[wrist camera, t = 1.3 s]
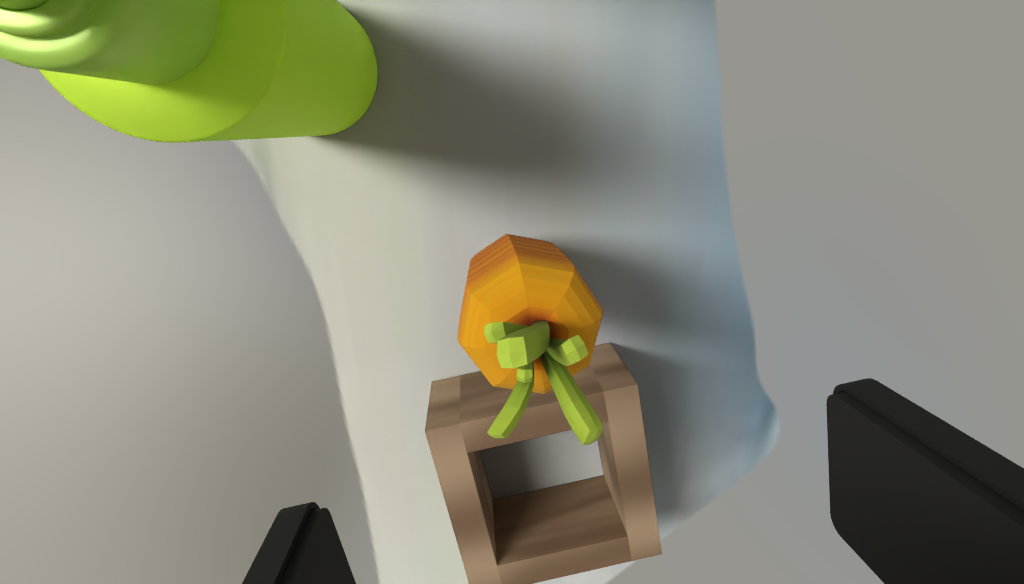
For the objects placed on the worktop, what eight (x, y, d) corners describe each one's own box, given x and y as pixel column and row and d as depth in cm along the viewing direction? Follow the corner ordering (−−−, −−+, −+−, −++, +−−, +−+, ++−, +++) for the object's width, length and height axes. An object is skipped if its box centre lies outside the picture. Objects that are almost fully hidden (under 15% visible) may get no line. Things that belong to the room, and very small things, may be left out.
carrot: (563, 291, 28) (661, 457, 14) (471, 310, 28) (475, 498, 14) (546, 198, 27) (639, 278, 12) (449, 218, 27) (430, 323, 12)
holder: (431, 381, 29) (424, 431, 24) (609, 342, 29) (637, 383, 25) (472, 527, 32) (473, 597, 27) (633, 491, 32) (662, 554, 28)
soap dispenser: (339, -49, 23) (-290, -922, 4) (396, 113, 25) (172, 65, 6) (209, -7, 23) (-1030, -656, 4) (278, 151, 25) (-318, 225, 6)
